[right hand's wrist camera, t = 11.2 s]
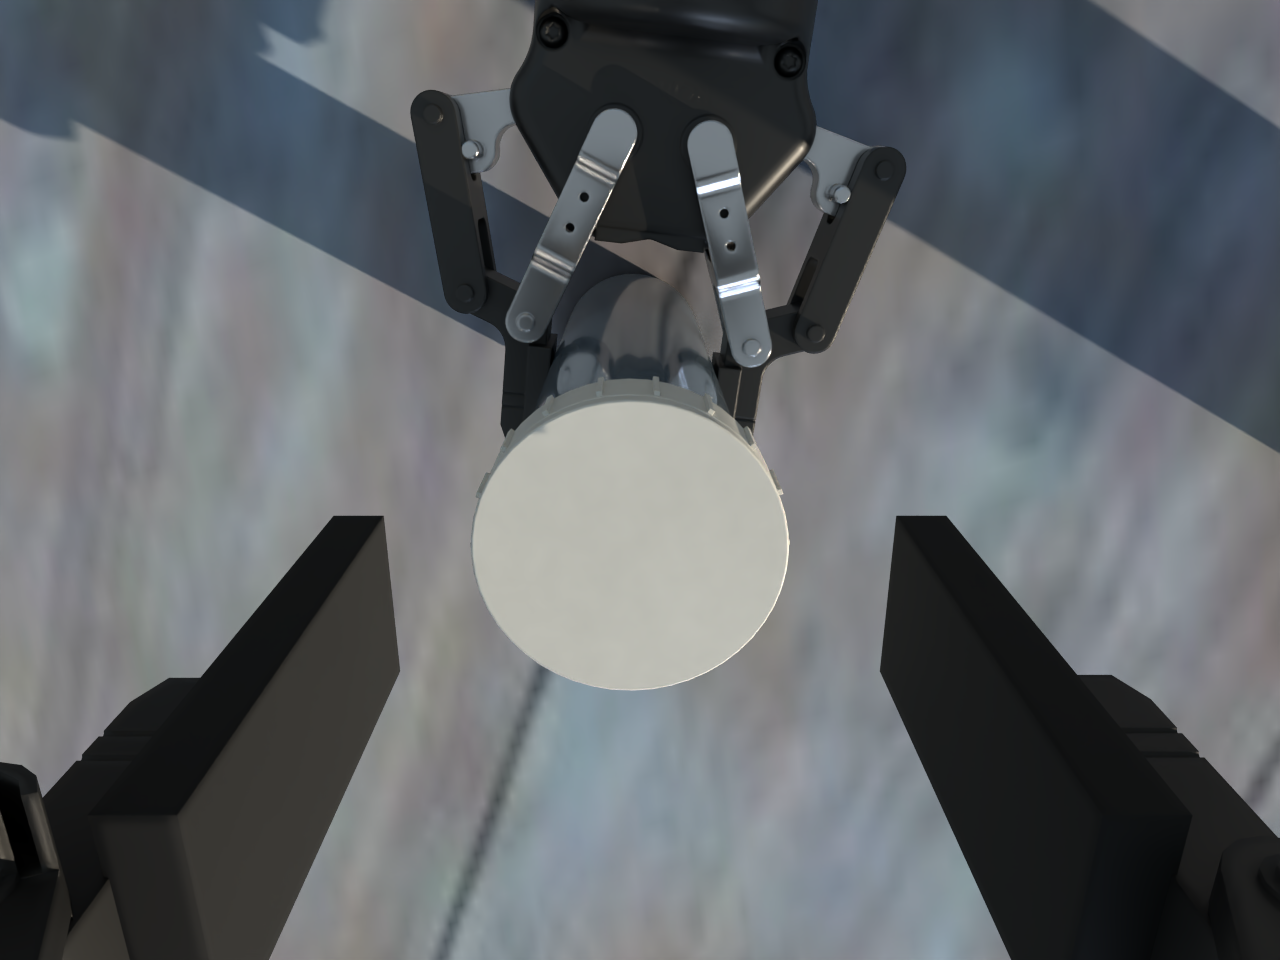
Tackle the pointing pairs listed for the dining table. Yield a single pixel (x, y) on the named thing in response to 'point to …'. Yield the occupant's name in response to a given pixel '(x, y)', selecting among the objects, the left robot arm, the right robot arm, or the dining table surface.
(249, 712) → the right robot arm
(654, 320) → the jar
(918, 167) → the dining table surface
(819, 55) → the dining table surface
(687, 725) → the dining table surface
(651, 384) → the lid
